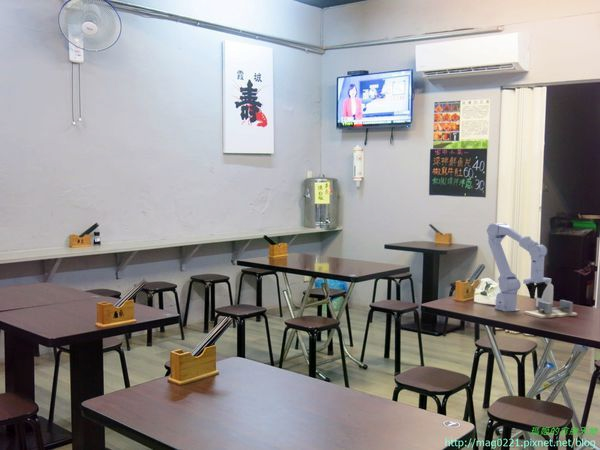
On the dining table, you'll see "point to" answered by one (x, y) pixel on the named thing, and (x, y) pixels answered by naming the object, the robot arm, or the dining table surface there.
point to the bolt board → (555, 311)
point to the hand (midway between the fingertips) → (535, 298)
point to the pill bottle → (546, 294)
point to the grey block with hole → (545, 307)
